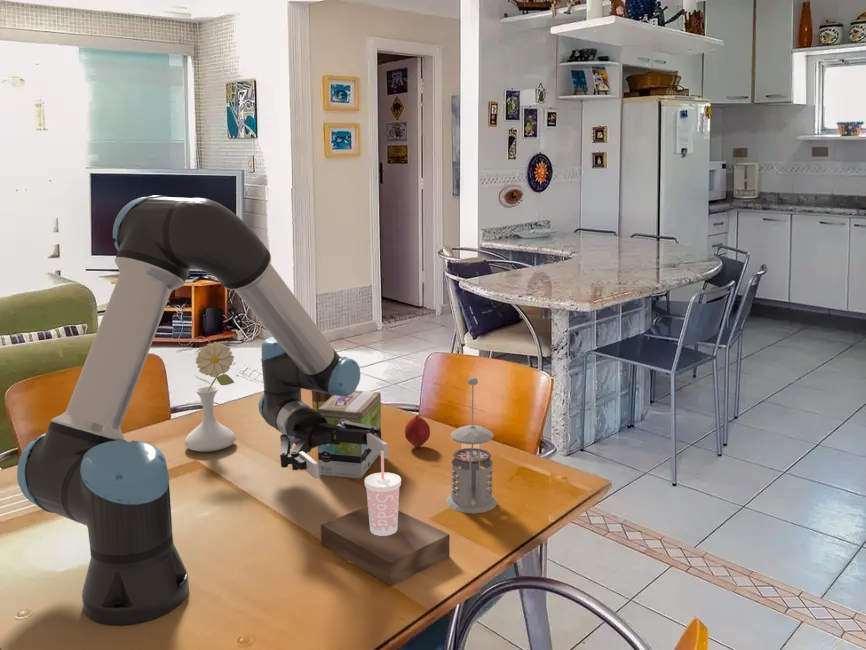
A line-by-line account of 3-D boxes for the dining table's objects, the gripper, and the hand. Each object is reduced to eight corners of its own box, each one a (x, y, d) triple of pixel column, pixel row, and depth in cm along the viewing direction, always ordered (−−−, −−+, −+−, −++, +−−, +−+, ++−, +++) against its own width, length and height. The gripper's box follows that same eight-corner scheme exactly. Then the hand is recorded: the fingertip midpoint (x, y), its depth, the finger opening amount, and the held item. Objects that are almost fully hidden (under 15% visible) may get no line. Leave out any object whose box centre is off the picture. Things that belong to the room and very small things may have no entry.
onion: (400, 445, 183) (400, 412, 181) (423, 441, 185) (423, 408, 183) (410, 453, 177) (410, 419, 176) (434, 449, 180) (434, 415, 178)
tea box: (363, 480, 164) (361, 411, 160) (317, 476, 165) (314, 408, 162) (382, 453, 178) (381, 390, 175) (339, 450, 180) (337, 387, 177)
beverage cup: (360, 535, 131) (358, 456, 128) (372, 519, 137) (370, 442, 134) (396, 539, 130) (394, 459, 127) (406, 523, 136) (405, 446, 133)
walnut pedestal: (391, 585, 124) (390, 562, 123) (321, 546, 136) (320, 524, 135) (449, 556, 132) (449, 534, 132) (379, 521, 145) (378, 501, 144)
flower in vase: (174, 453, 178) (166, 345, 173) (203, 436, 189) (195, 333, 183) (225, 459, 174) (218, 349, 169) (251, 441, 185) (246, 337, 180)
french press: (494, 490, 158) (496, 369, 153) (501, 517, 147) (503, 387, 141) (445, 491, 158) (445, 370, 152) (448, 518, 146) (448, 388, 141)
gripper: (360, 428, 164) (413, 462, 146) (243, 459, 151) (287, 500, 133) (357, 393, 162) (412, 424, 144) (239, 422, 149) (283, 459, 131)
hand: (352, 460), depth 139 cm, fingers open, 13 cm apart
